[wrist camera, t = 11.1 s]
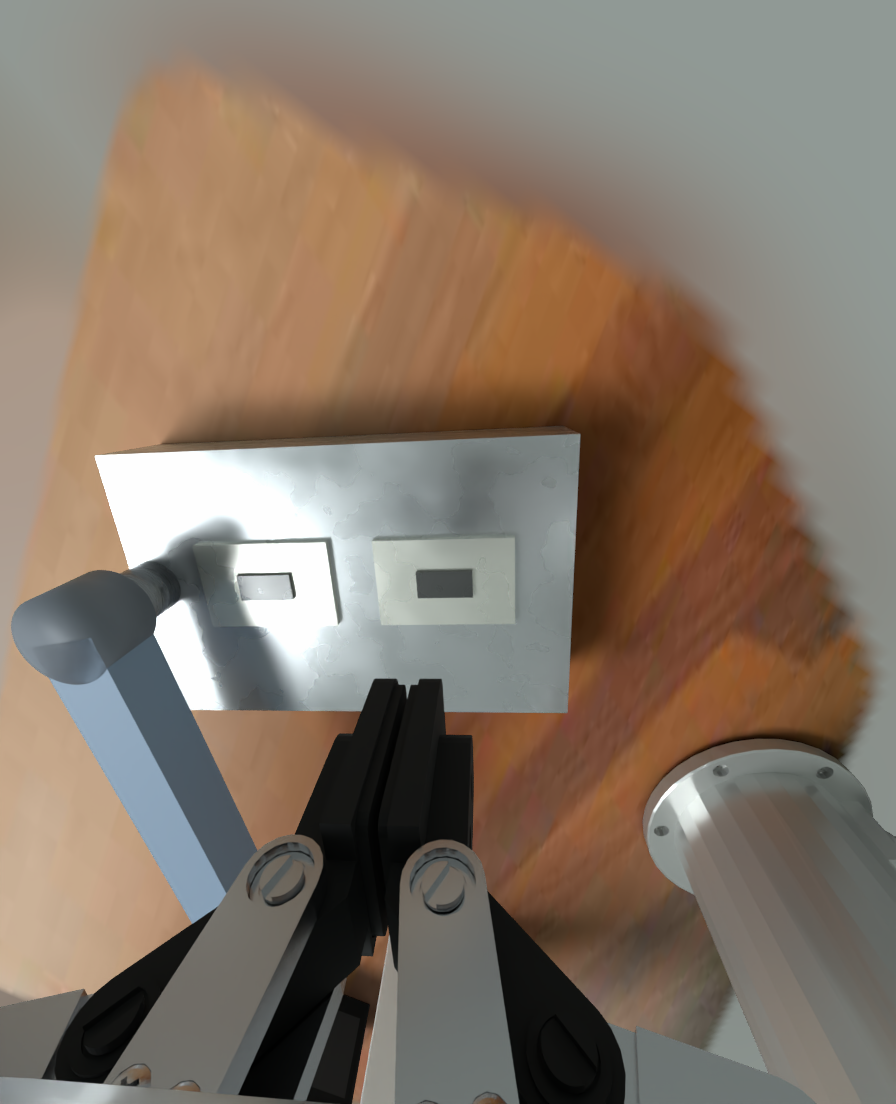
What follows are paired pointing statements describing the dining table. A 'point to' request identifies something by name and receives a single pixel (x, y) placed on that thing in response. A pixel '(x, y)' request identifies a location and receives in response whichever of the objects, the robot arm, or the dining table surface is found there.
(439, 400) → the dining table surface
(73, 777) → the dining table surface
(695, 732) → the dining table surface
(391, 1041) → the milk
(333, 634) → the plate
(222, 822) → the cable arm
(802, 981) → the robot arm
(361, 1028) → the digital camera
